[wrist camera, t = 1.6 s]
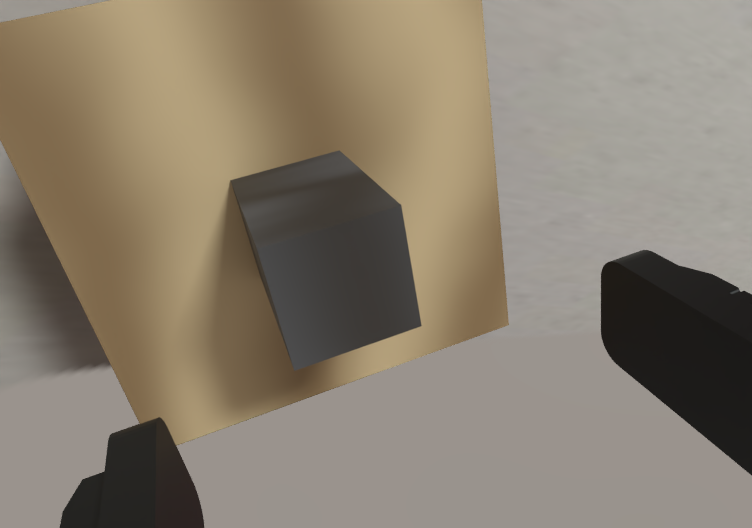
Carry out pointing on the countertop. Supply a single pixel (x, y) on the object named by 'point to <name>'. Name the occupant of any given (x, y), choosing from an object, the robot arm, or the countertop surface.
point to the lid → (260, 190)
